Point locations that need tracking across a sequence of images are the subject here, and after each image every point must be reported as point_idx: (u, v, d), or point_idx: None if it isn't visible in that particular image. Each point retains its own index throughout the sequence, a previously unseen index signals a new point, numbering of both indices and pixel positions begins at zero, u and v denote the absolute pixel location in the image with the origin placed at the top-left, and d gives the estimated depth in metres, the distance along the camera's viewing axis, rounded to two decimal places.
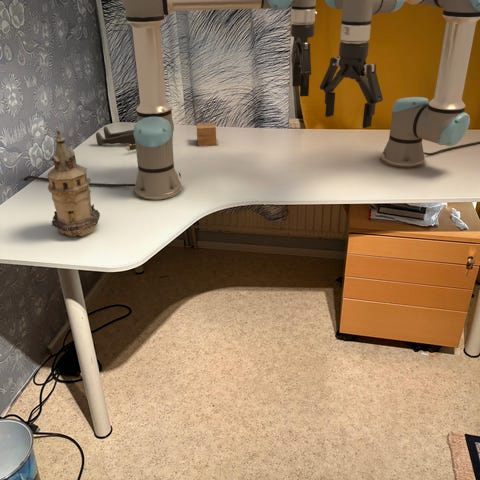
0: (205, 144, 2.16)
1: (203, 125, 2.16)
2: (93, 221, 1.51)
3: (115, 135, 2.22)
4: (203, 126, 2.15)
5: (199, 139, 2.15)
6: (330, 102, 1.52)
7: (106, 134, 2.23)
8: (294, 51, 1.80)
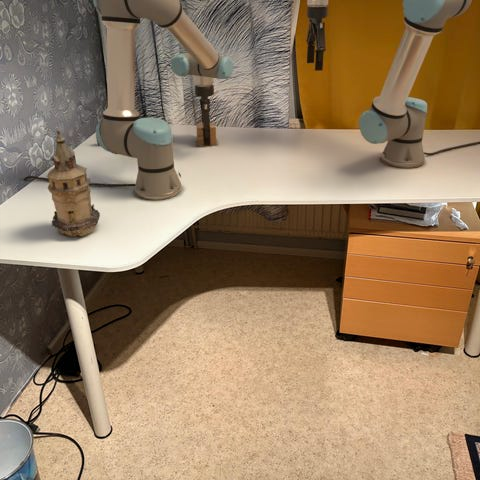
0: None
1: None
2: (93, 221, 1.51)
3: None
4: None
5: (199, 139, 2.15)
6: None
7: None
8: None
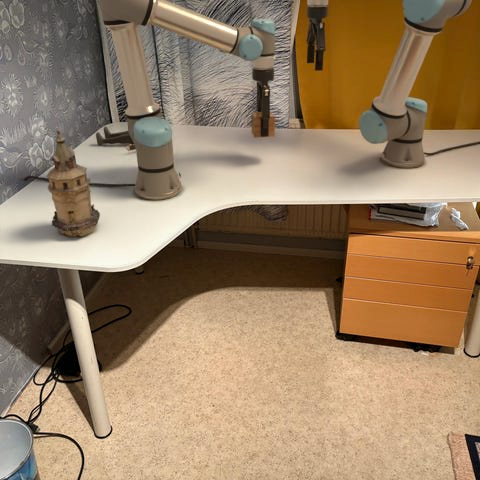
0: None
1: (260, 114, 1.92)
2: (93, 221, 1.51)
3: (115, 135, 2.22)
4: None
5: (256, 130, 1.90)
6: None
7: (106, 134, 2.23)
8: (257, 95, 1.93)
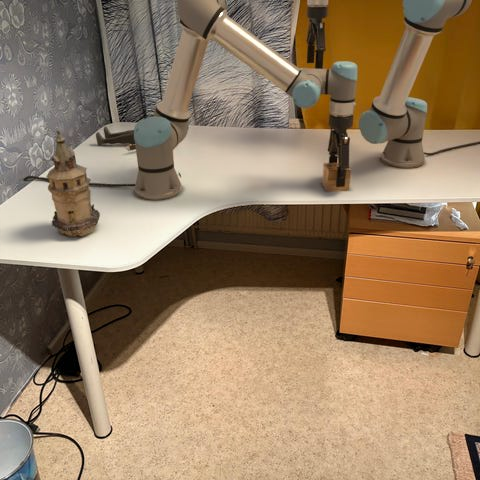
0: (336, 189, 1.76)
1: (333, 165, 1.76)
2: (93, 221, 1.51)
3: (115, 135, 2.22)
4: (335, 167, 1.75)
5: (329, 183, 1.75)
6: None
7: (106, 134, 2.23)
8: (330, 139, 1.78)
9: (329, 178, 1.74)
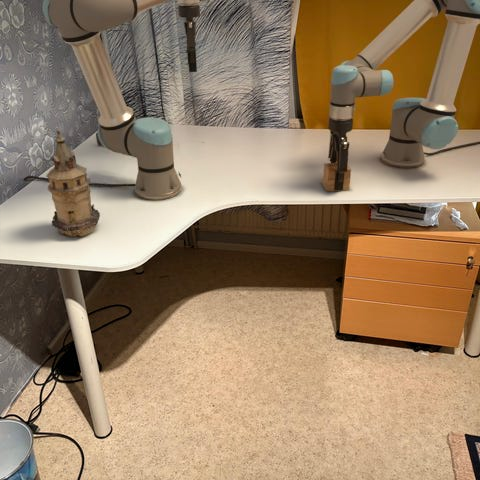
0: None
1: (333, 165, 1.76)
2: (93, 221, 1.51)
3: None
4: (335, 167, 1.75)
5: (329, 183, 1.75)
6: None
7: None
8: None
9: (329, 178, 1.74)
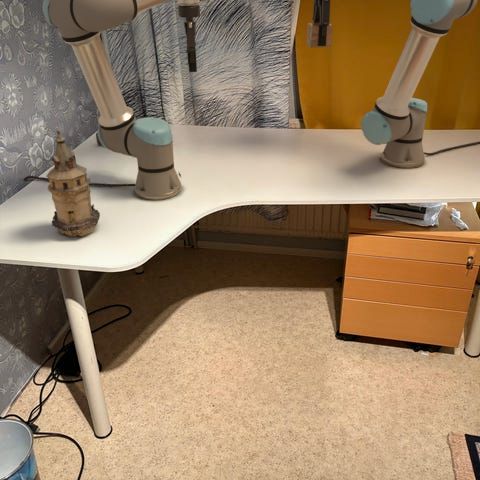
0: None
1: (317, 24, 1.92)
2: (93, 221, 1.51)
3: None
4: (318, 24, 1.90)
5: (313, 39, 1.90)
6: None
7: None
8: None
9: (313, 34, 1.89)
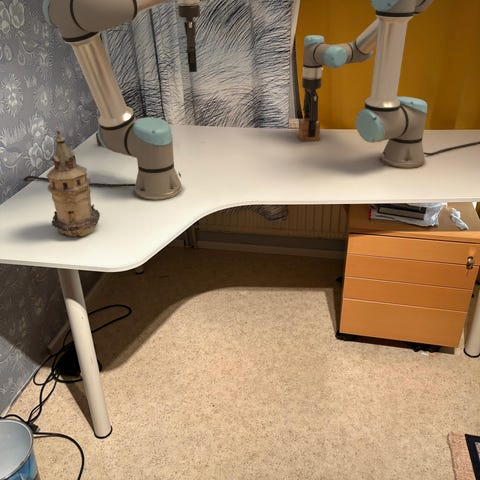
0: (308, 139, 2.20)
1: (307, 120, 2.20)
2: (93, 221, 1.51)
3: None
4: None
5: (303, 134, 2.19)
6: None
7: None
8: None
9: (303, 130, 2.18)
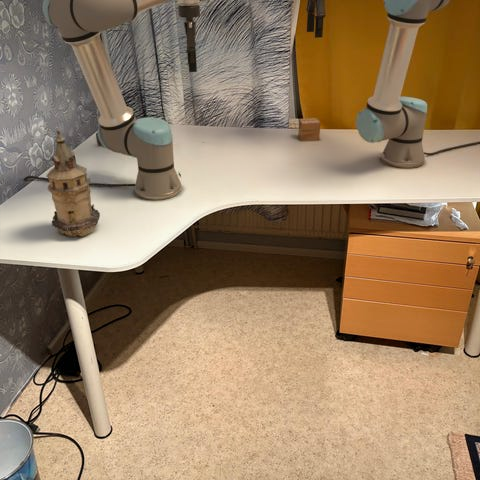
0: (308, 139, 2.20)
1: (306, 120, 2.20)
2: (93, 221, 1.51)
3: None
4: (308, 121, 2.18)
5: (303, 134, 2.19)
6: None
7: None
8: None
9: (303, 130, 2.18)
